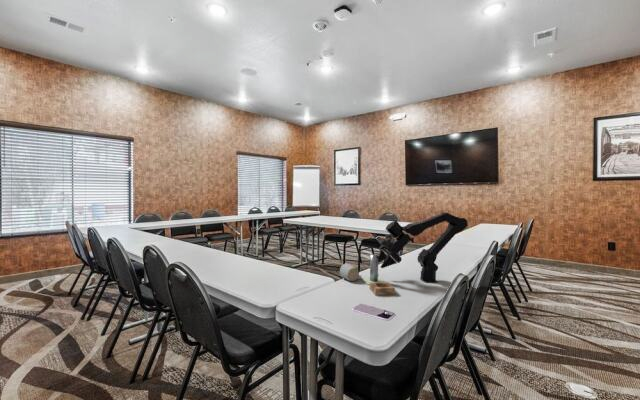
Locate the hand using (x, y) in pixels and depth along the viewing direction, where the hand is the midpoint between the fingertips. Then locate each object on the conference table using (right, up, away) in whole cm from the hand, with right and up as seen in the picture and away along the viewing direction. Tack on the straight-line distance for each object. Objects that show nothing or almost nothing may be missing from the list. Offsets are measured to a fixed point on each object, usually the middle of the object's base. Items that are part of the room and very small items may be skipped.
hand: (378, 265), depth 147 cm
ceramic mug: (-13, -8, +3) cm, 16 cm away
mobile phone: (-10, -10, -38) cm, 40 cm away
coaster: (-2, -8, 0) cm, 8 cm away
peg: (-2, -8, 0) cm, 8 cm away
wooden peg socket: (-1, -9, -15) cm, 17 cm away
